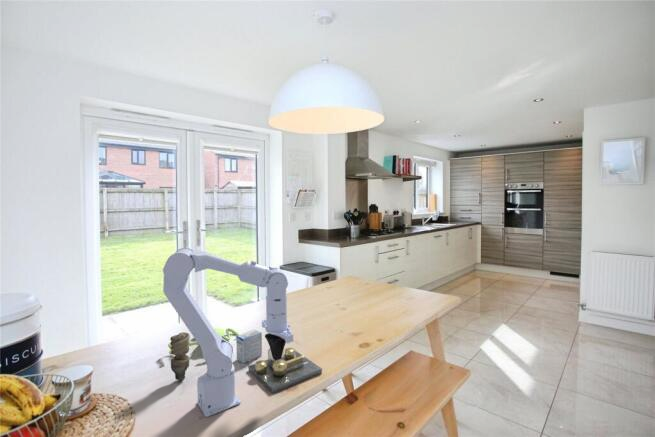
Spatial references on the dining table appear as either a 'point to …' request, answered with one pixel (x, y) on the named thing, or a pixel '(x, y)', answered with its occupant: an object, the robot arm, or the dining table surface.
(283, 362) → the brass lever handle
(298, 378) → the levelling base
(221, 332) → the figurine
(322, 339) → the dining table surface
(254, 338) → the medicine box
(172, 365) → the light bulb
